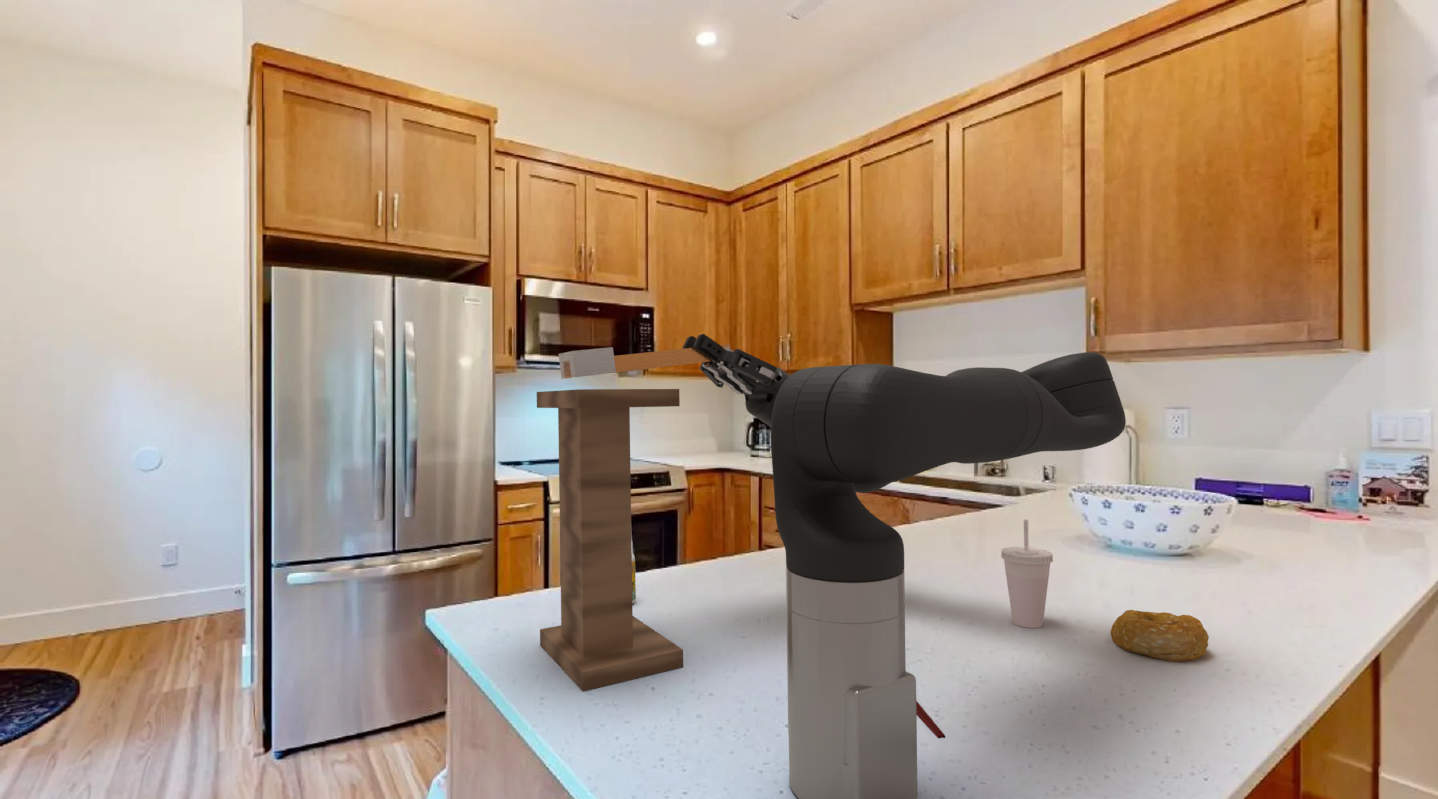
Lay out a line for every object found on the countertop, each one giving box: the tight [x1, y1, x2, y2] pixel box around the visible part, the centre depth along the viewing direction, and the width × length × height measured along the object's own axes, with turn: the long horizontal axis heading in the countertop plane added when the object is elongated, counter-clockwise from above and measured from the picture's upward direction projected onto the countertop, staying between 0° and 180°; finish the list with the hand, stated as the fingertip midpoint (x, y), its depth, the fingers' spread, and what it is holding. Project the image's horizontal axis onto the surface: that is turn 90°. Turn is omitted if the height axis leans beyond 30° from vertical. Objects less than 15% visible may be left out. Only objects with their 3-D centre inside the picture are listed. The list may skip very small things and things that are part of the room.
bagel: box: [1110, 609, 1210, 662], centre depth 82 cm, size 10×11×5 cm
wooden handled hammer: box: [558, 343, 731, 380], centre depth 85 cm, size 5×22×3 cm, turn 121°
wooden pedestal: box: [536, 388, 684, 692], centre depth 81 cm, size 16×12×32 cm
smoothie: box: [1000, 519, 1054, 629], centre depth 91 cm, size 6×6×14 cm
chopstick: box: [916, 700, 946, 739], centre depth 73 cm, size 2×24×1 cm, turn 7°
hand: (692, 341), depth 88 cm, fingers closed on wooden handled hammer, 2 cm apart
